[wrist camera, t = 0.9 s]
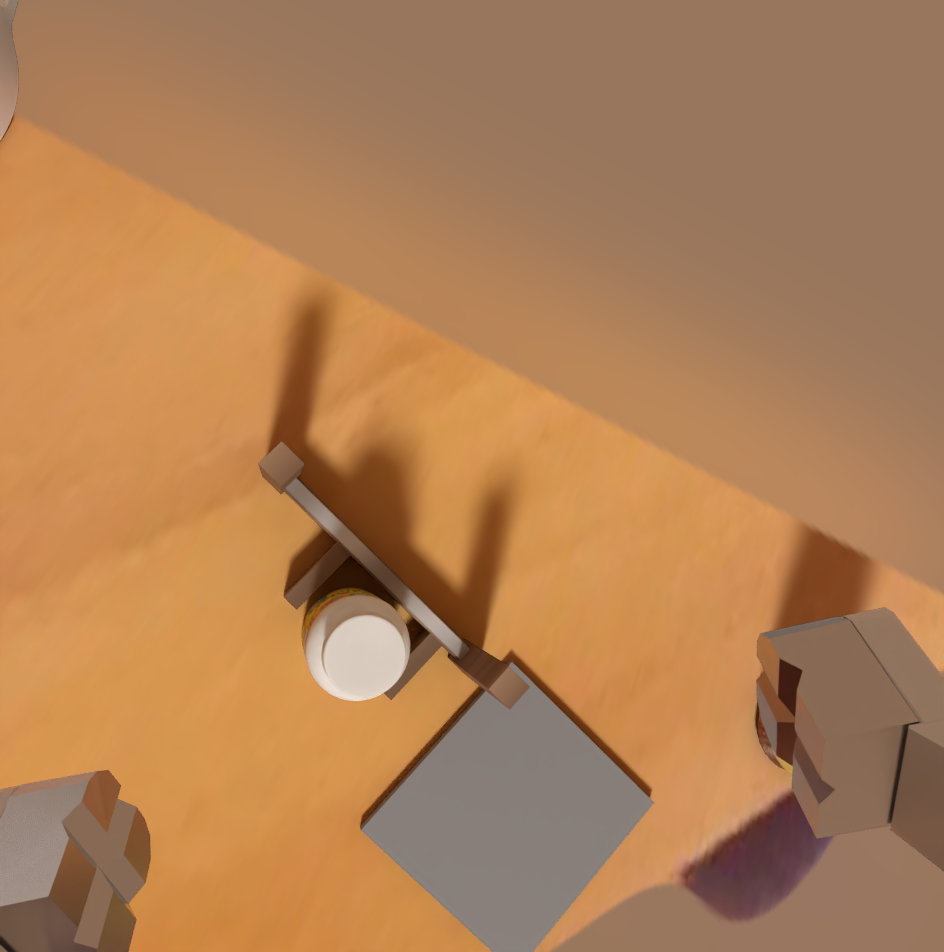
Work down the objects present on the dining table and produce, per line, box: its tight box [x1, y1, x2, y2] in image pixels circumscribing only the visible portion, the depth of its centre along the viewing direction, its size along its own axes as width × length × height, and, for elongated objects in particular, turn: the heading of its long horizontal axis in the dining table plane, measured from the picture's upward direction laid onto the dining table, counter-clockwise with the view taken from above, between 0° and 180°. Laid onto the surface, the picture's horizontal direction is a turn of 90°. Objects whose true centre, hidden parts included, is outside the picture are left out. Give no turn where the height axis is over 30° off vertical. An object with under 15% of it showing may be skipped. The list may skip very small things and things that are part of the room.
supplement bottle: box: [302, 587, 410, 701], centre depth 44 cm, size 5×5×10 cm
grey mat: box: [360, 660, 654, 952], centre depth 50 cm, size 13×13×1 cm
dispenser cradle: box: [258, 441, 530, 710], centre depth 44 cm, size 17×6×10 cm, turn 45°
